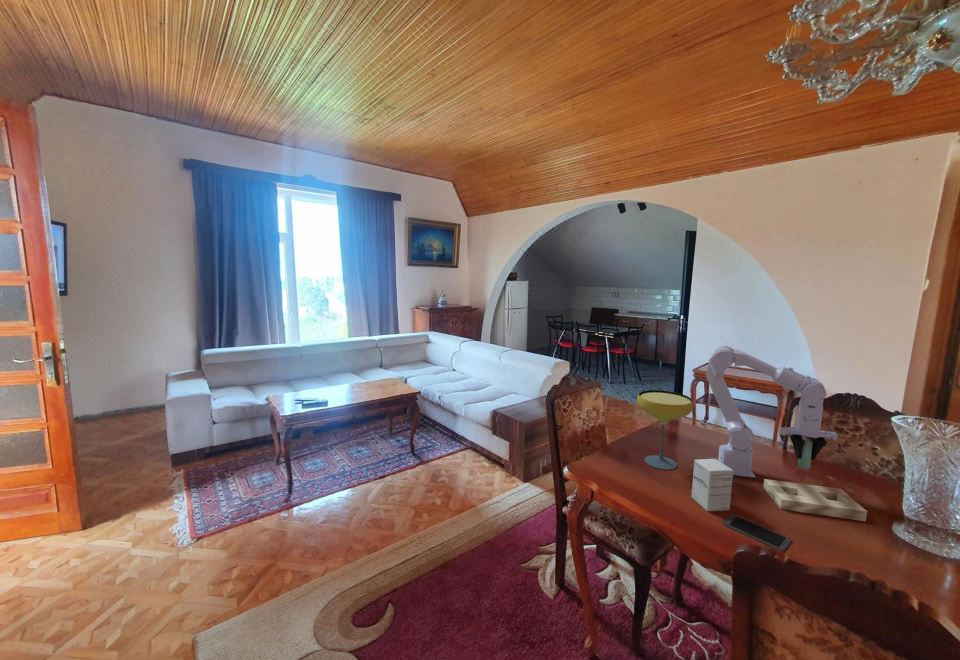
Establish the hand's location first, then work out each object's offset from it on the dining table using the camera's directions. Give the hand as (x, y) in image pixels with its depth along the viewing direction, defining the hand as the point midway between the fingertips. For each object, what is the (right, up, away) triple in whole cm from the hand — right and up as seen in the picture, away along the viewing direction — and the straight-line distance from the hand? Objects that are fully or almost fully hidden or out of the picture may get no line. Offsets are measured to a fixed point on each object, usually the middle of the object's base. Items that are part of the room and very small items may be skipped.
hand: (804, 458), depth 121 cm
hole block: (-5, -11, -8) cm, 14 cm away
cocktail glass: (-38, -8, +18) cm, 43 cm away
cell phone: (-31, -13, -20) cm, 39 cm away
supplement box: (-35, -11, -8) cm, 38 cm away
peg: (0, -3, 0) cm, 3 cm away
